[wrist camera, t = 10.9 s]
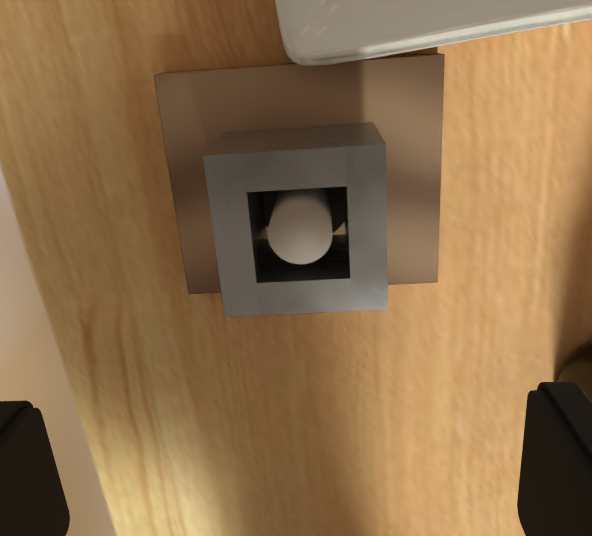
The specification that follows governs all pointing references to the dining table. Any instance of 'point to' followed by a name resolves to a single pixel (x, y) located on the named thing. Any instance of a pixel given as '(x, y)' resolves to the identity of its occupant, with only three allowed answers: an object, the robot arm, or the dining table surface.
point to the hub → (287, 176)
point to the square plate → (408, 24)
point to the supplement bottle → (579, 370)
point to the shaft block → (299, 113)
